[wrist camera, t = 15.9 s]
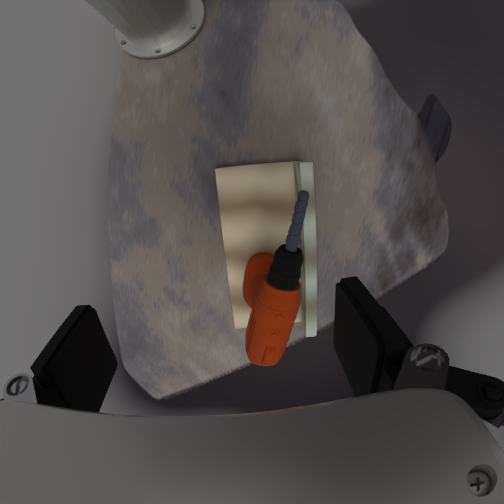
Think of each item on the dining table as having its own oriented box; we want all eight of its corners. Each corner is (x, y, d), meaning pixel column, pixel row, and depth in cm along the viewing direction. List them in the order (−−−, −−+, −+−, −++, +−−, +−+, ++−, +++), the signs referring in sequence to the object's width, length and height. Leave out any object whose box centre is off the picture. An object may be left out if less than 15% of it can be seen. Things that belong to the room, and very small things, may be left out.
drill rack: (216, 168, 36) (211, 170, 30) (302, 160, 36) (314, 161, 30) (235, 321, 43) (234, 344, 37) (308, 313, 43) (317, 335, 37)
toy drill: (305, 169, 33) (345, 207, 20) (273, 303, 41) (284, 387, 28) (264, 161, 33) (277, 194, 19) (239, 298, 41) (236, 383, 27)
